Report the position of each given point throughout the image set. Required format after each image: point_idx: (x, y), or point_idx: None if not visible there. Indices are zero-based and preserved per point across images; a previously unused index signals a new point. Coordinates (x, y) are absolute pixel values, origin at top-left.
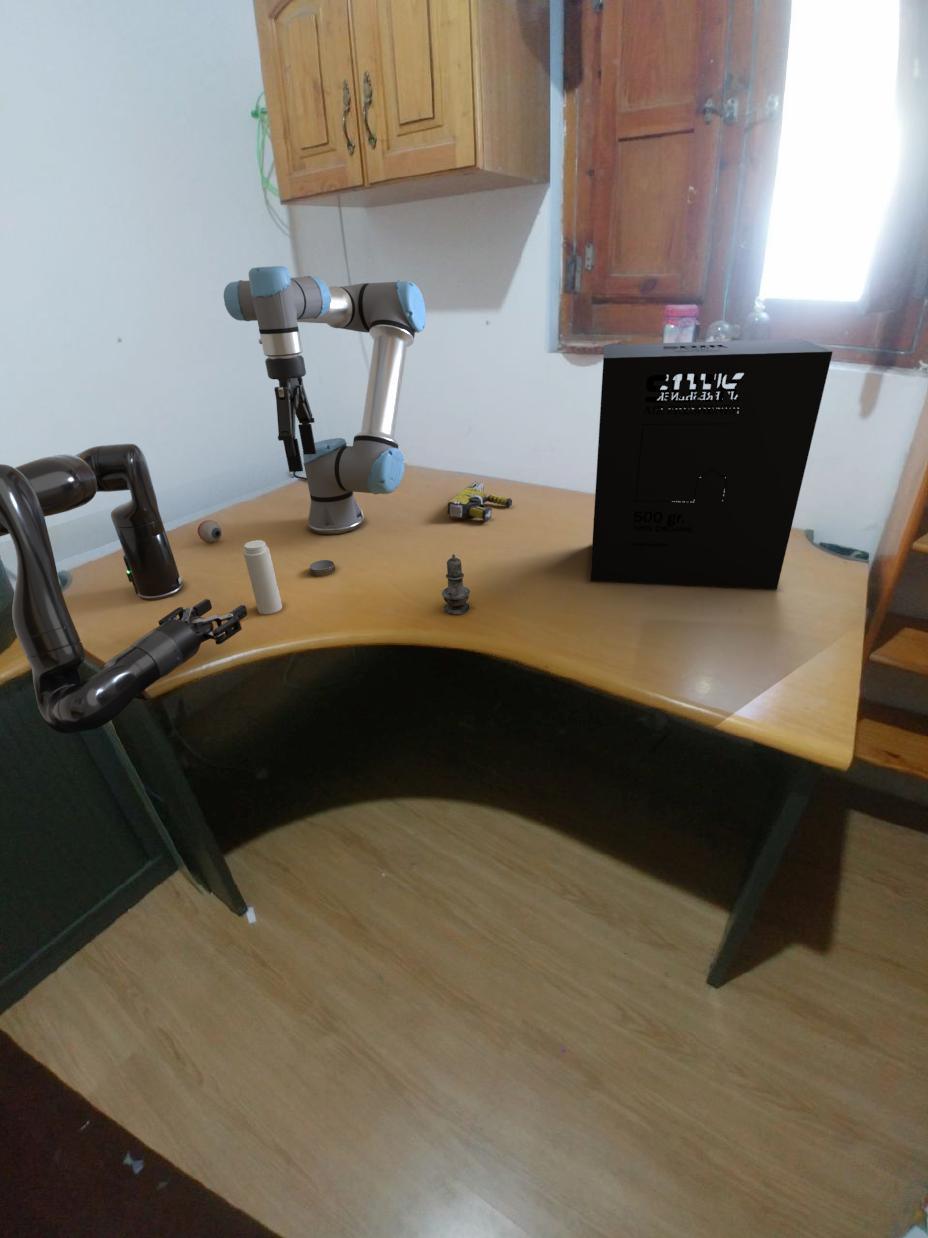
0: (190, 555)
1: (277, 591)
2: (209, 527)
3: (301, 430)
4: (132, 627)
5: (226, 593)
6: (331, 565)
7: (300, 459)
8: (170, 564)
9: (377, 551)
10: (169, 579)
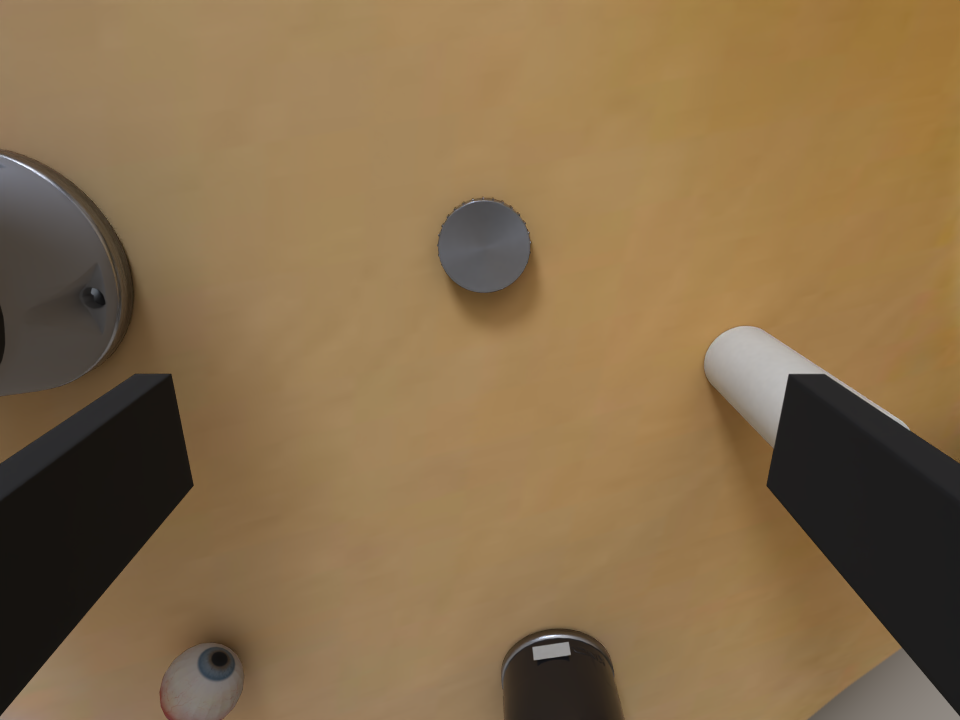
0: (319, 678)
1: (780, 346)
2: (216, 695)
3: (5, 669)
4: (748, 661)
5: (603, 511)
6: (494, 207)
7: (890, 425)
8: (584, 704)
9: (304, 32)
10: (595, 674)
